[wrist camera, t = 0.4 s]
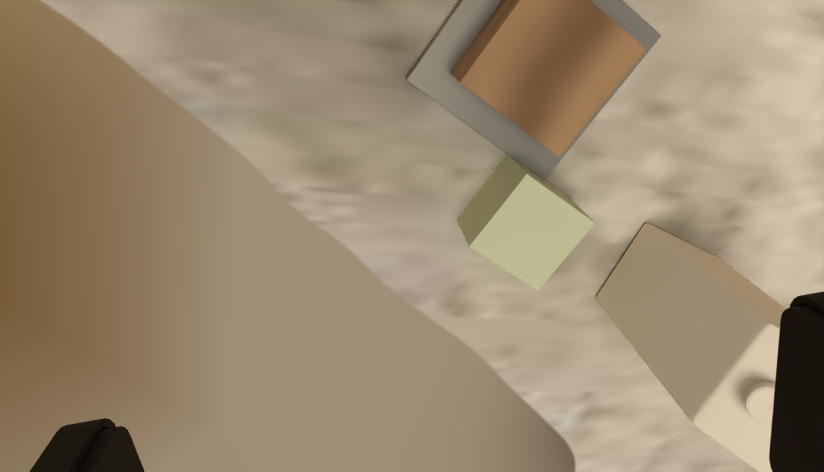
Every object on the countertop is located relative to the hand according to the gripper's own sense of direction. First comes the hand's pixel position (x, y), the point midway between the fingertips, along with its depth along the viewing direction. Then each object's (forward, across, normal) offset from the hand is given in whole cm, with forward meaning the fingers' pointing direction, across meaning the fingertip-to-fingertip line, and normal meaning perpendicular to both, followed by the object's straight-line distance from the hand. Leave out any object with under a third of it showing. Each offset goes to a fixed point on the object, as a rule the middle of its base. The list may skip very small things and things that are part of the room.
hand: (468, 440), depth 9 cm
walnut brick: (+34, -10, -1) cm, 35 cm away
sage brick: (+35, -8, +10) cm, 37 cm away
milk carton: (+36, -19, +18) cm, 44 cm away
